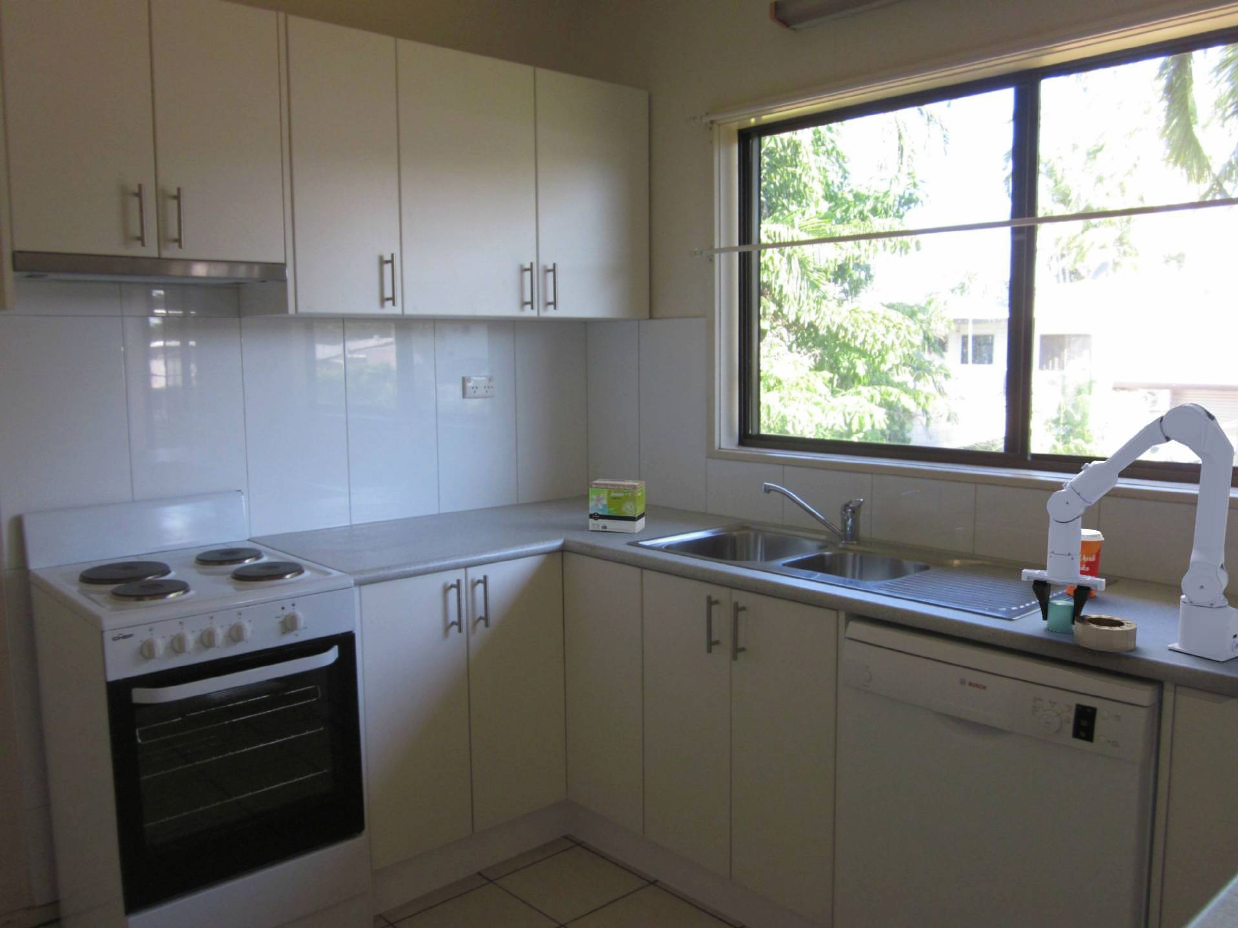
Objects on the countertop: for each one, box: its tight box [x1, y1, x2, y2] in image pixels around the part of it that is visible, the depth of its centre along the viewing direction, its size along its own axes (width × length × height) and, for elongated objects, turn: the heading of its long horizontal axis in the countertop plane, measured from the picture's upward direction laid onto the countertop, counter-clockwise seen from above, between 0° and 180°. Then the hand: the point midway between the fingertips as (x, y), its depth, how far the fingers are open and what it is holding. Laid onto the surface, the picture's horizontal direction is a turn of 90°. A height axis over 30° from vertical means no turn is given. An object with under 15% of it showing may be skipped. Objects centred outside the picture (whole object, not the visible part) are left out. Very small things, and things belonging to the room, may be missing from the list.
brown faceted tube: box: [1073, 614, 1137, 653], centre depth 179 cm, size 10×10×4 cm
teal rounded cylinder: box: [1046, 600, 1074, 633], centre depth 189 cm, size 5×5×5 cm
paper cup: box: [1066, 528, 1105, 599], centre depth 214 cm, size 8×8×14 cm
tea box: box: [588, 478, 646, 534], centre depth 294 cm, size 15×10×15 cm, turn 73°
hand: (1060, 621), depth 189 cm, fingers closed on teal rounded cylinder, 5 cm apart
